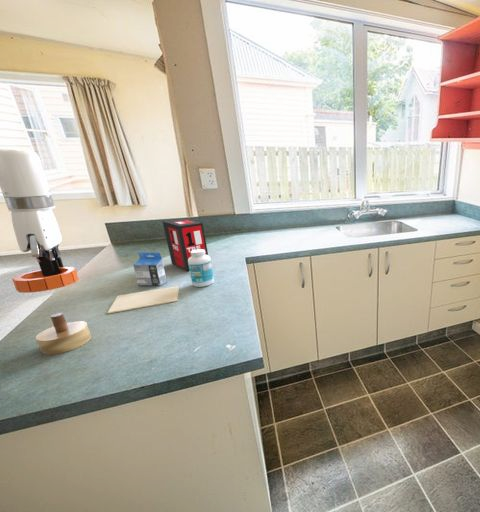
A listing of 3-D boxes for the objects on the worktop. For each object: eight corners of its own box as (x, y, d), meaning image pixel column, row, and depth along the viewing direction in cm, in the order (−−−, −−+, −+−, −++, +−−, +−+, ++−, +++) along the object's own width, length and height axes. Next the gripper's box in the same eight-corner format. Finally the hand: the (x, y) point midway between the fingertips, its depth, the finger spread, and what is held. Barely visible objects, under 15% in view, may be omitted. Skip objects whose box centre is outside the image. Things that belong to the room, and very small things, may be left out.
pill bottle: (187, 285, 113) (181, 252, 109) (204, 279, 120) (198, 247, 116) (202, 288, 111) (196, 254, 107) (219, 281, 117) (213, 249, 113)
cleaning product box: (172, 264, 136) (162, 221, 130) (192, 259, 143) (184, 218, 137) (189, 271, 127) (179, 226, 121) (210, 266, 134) (202, 222, 128)
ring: (7, 295, 67) (2, 283, 67) (29, 281, 76) (25, 270, 75) (69, 287, 72) (65, 276, 72) (83, 275, 81) (80, 264, 80)
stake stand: (33, 359, 71) (21, 328, 69) (50, 339, 79) (39, 311, 76) (85, 347, 76) (75, 318, 73) (95, 330, 83) (87, 303, 81)
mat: (107, 314, 92) (107, 312, 92) (118, 296, 103) (117, 295, 103) (176, 301, 101) (176, 300, 101) (179, 286, 112) (179, 285, 112)
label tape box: (137, 285, 112) (129, 255, 109) (145, 281, 116) (138, 251, 113) (160, 286, 112) (153, 255, 109) (168, 282, 116) (161, 252, 113)
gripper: (24, 200, 76) (47, 266, 82) (-12, 208, 64) (18, 287, 69) (64, 199, 80) (83, 263, 86) (38, 207, 67) (62, 281, 73)
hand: (54, 273), depth 77 cm, fingers closed on ring, 1 cm apart
